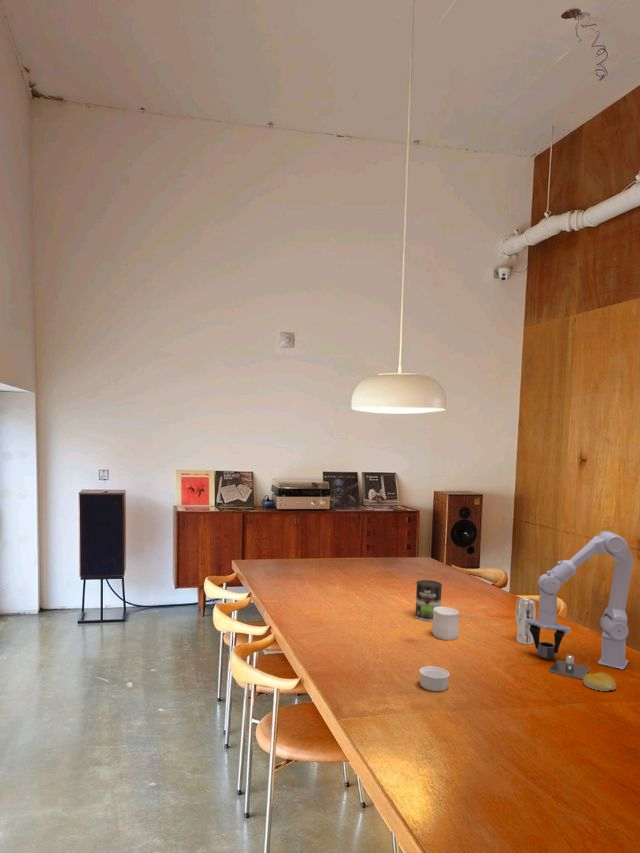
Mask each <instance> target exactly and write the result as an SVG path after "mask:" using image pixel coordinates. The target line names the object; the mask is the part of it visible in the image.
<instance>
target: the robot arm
mask: <svg viewBox="0 0 640 853" xmlns="http://www.w3.org/2000/svg"><path fill="white" fill-rule="evenodd" d="M608 553H609V555H610V556H611V557H612V558H613V560H614V561H615V563H614V568H613V573H612V574H613V575H612V579H611V580H612V581H611V587H610V593H609V601H608V604H607V606H606V608H605V609H604V612H603V615H602V616H601V617H600V619H599V625H600V627H601V629H602V632H601V651H600V653H601V655H600V659H599V660H598V661H597V664H598V665H602V666H607V667H611V668H615V669H618V668H619V670H623V669H624V668H625V669H626V668H627V666H628V663H629V659H628V660H627V659H626V651H627V650H626V649H627V648H626V646H627V643H626V639H627V638H628V636H629V632H630V630H629V626H628V615H627V613H626V608H627V603H628V602H627V601H628V596H629V590H630V583H631V580H632V572H633V566H634V557H633V555H632V551H631V549H630V548H629V543H628V542H627V541H626V539H624V537H622V536H621V535H618V534H616V533H614V532H612V531H609V530H603V531H601V532H599V533H598V534H597V535H596V536H593V538H591V539H590V540H589V542H587V544H585V546H583V547H582V548H581V549H580V550H578V552H577V553H575V554H574V555H573V556H572V557H571V558H570V559H563V560H562V561H561V560H559V561H557V563H556V565H555V566H554V567H552V568H551V570H547V571H546V573H544V574H542V575H540V576H539V578H538V579H537V581H536V582H537V586H538V587H539V595H538V596H539V597H538V619H536V618H535V619H528V618H527V619H525V625H527V626H528V625H530V628H529V629H530V632H531V634H532V636H533V641H534V642H533V643H534V646H535V649H536V650H537V649H538V643H539V642H540V636H541V635H540V633H541V629H545V630H551V631H555V632H554V633H553V634H554V635H553V637H554V645H555V648H554V653H556V654H558V652H559V648H560V645H561V643H562V640H563V638H564V637H565V634H566V635H570V634H571V626H568V625H564V624H560V623H558V621H557V620H558V619H557V613H558V612H557V610H558V592H559V591H560V589H561V586H562V585H563V584H565V583H566V582H567V581H568V580H570V579H571V578H572V577H573V576H575V575H576V574H577V568H579V567H580V566H582V565H583V564H584V563H586V562H587V561H589V560H590V559H591V558H593V557H594V556H595V555H607V554H608ZM625 669H624V670H625Z"/></svg>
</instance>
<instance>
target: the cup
mask: <svg viewBox="0 0 640 853" xmlns="http://www.w3.org/2000/svg"><path fill="white" fill-rule="evenodd" d="M459 617H460V611H459V610H457V609H455V608H453V607H448V606H442V605H441V606H439V607H434V608H433V621H432V623H431V624H432V626H431V633H432V636H434V637H435V638H436V637H437V638H436V639H438V638H439V639H438V640H441V639H442V641H454V640H457V638H458V637H459Z"/></svg>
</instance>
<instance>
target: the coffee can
mask: <svg viewBox="0 0 640 853" xmlns="http://www.w3.org/2000/svg"><path fill="white" fill-rule="evenodd" d="M415 584H416V595H415V618H416V619H418V620H420V619H421V621H424V620H425V621H426V622H433V608H434V607H439V606H441V607H442V587H443V584H442V583H441V582H439V581H435V580H429V579H426V580H425V579H422V580H418V581H416V583H415ZM425 621H424V622H425Z"/></svg>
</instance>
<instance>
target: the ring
mask: <svg viewBox="0 0 640 853" xmlns="http://www.w3.org/2000/svg"><path fill="white" fill-rule="evenodd" d="M554 648H555V643H551V642H546V641H539V643H538V649H536V650H537V655H538V656H539V657H541V658H545V659H555V658H556V657H557V653H554Z"/></svg>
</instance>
